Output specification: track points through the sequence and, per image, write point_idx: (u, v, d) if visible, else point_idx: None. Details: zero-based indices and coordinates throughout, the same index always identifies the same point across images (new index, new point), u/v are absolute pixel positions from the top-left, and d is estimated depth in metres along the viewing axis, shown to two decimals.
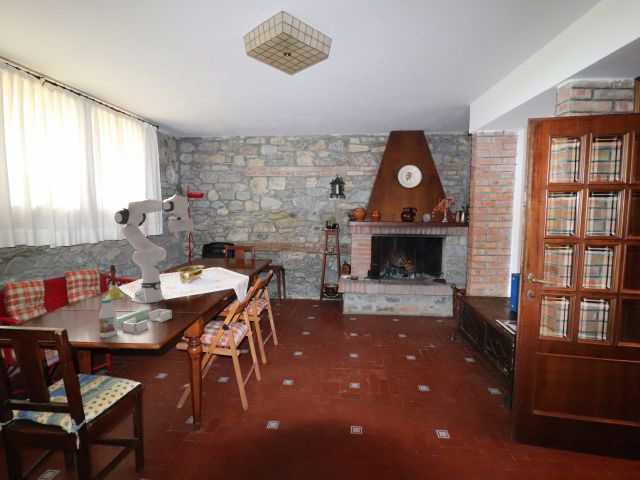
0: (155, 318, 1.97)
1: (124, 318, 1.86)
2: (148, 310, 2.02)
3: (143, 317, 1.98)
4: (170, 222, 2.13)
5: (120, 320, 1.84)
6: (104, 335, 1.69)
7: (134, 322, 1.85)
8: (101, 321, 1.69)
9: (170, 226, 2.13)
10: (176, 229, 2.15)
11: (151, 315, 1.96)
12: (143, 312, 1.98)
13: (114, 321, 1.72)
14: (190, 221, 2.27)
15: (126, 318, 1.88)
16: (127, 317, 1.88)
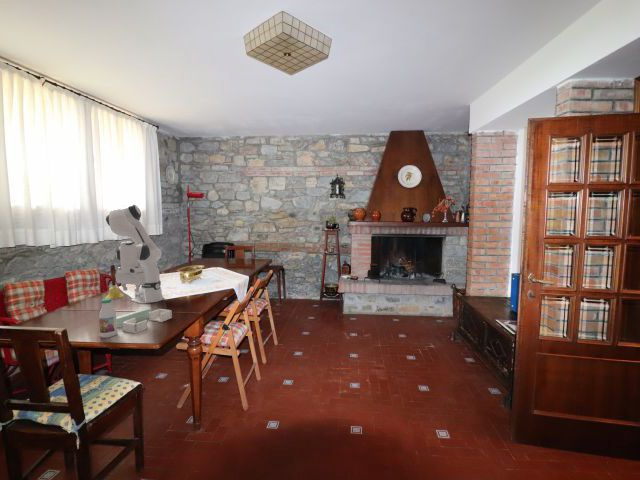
0: (155, 318, 1.97)
1: (123, 318, 1.86)
2: (149, 310, 2.01)
3: (143, 317, 1.98)
4: (140, 274, 1.87)
5: (118, 320, 1.84)
6: (104, 335, 1.69)
7: (134, 322, 1.85)
8: (101, 321, 1.69)
9: (142, 279, 1.87)
10: None
11: (151, 315, 1.96)
12: (144, 312, 1.98)
13: (114, 321, 1.72)
14: None
15: (125, 318, 1.88)
16: (126, 317, 1.88)
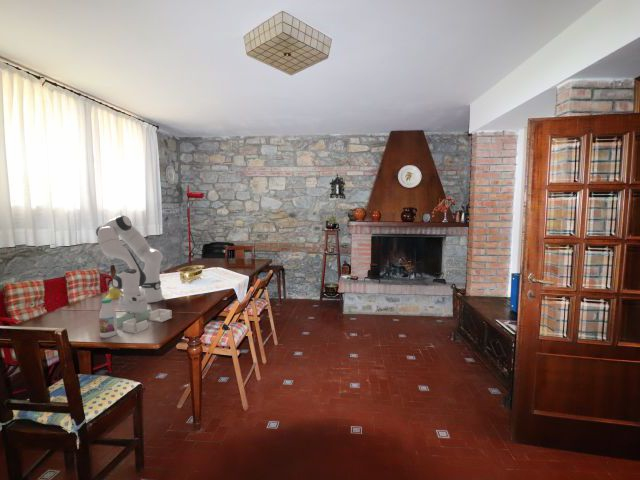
0: (155, 318, 1.97)
1: (122, 317, 1.87)
2: (150, 310, 2.00)
3: (144, 317, 1.97)
4: (142, 302, 1.89)
5: (117, 319, 1.85)
6: (104, 335, 1.69)
7: (134, 322, 1.85)
8: (101, 321, 1.69)
9: (144, 307, 1.89)
10: None
11: (151, 315, 1.96)
12: None
13: (114, 321, 1.72)
14: None
15: (124, 318, 1.88)
16: (125, 317, 1.88)
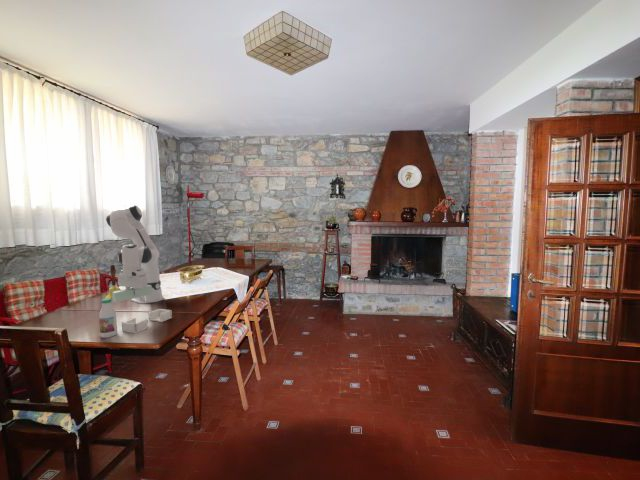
0: (155, 318, 1.97)
1: (121, 292, 1.84)
2: (150, 287, 1.97)
3: (144, 294, 1.95)
4: (141, 278, 1.86)
5: (116, 294, 1.82)
6: (104, 335, 1.69)
7: (134, 322, 1.85)
8: (101, 321, 1.69)
9: (143, 282, 1.86)
10: None
11: (151, 315, 1.96)
12: (144, 288, 1.94)
13: (114, 321, 1.72)
14: None
15: (124, 293, 1.85)
16: (125, 292, 1.85)
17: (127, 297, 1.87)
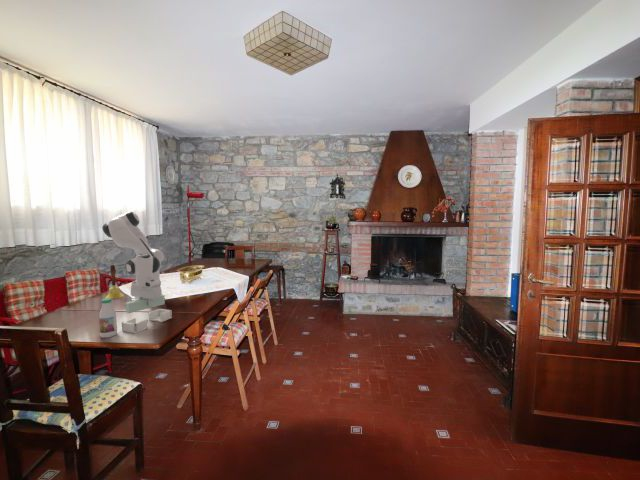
0: (155, 318, 1.97)
1: (135, 303, 1.81)
2: (162, 297, 1.95)
3: (156, 304, 1.92)
4: (155, 288, 1.83)
5: (130, 305, 1.79)
6: (104, 335, 1.69)
7: (134, 322, 1.85)
8: (101, 321, 1.69)
9: (157, 292, 1.84)
10: None
11: (151, 315, 1.96)
12: (157, 299, 1.92)
13: (114, 321, 1.72)
14: None
15: (137, 303, 1.82)
16: (138, 302, 1.83)
17: (140, 308, 1.84)
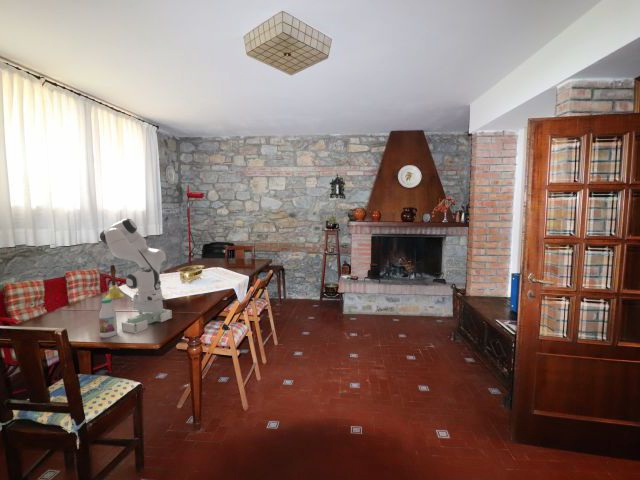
0: None
1: (137, 319, 1.82)
2: (164, 311, 1.96)
3: (158, 318, 1.93)
4: (157, 302, 1.84)
5: (133, 321, 1.80)
6: (104, 335, 1.69)
7: None
8: (101, 321, 1.69)
9: (159, 306, 1.85)
10: None
11: None
12: (158, 313, 1.93)
13: (114, 321, 1.72)
14: None
15: (139, 319, 1.83)
16: (140, 318, 1.84)
17: None
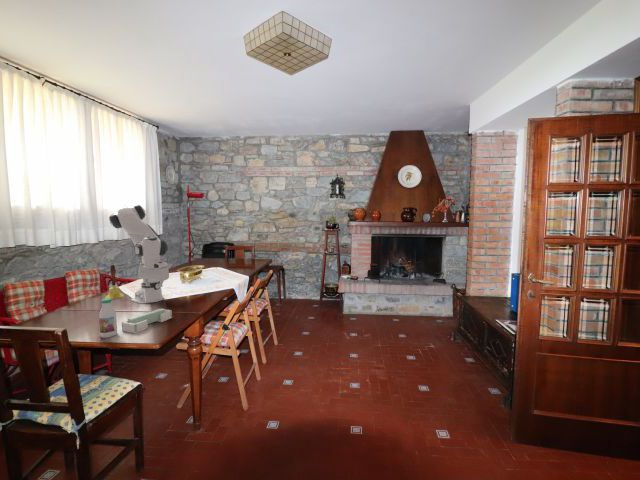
0: None
1: (137, 319, 1.82)
2: (164, 311, 1.96)
3: (158, 318, 1.93)
4: (164, 269, 1.88)
5: (133, 321, 1.80)
6: (104, 335, 1.69)
7: None
8: (101, 321, 1.69)
9: (166, 273, 1.89)
10: None
11: None
12: (158, 313, 1.93)
13: (114, 321, 1.72)
14: None
15: (139, 319, 1.83)
16: (140, 318, 1.84)
17: None
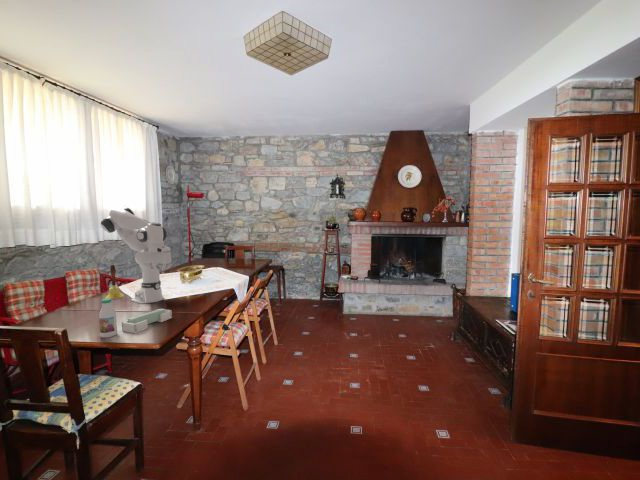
0: None
1: (137, 319, 1.82)
2: (164, 311, 1.96)
3: (158, 318, 1.93)
4: (166, 253, 1.99)
5: (133, 321, 1.80)
6: (104, 335, 1.69)
7: None
8: (101, 321, 1.69)
9: (168, 257, 2.00)
10: None
11: None
12: (158, 313, 1.93)
13: (114, 321, 1.72)
14: None
15: (139, 319, 1.83)
16: (140, 318, 1.84)
17: None
